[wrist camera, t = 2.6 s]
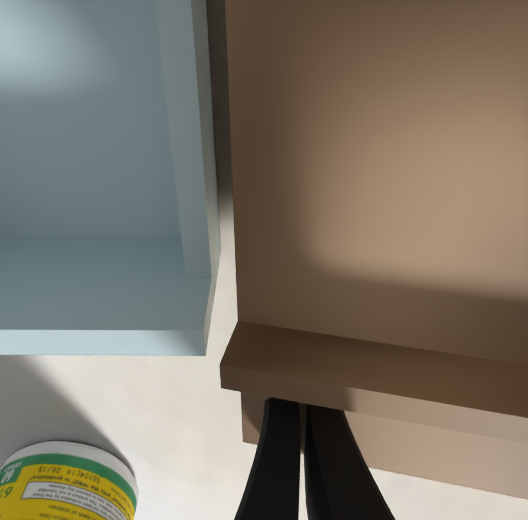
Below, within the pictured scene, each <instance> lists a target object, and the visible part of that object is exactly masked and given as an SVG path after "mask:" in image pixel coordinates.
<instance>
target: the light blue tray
mask: <svg viewBox="0 0 528 520" xmlns="http://www.w3.org/2000/svg"><path fill="white" fill-rule="evenodd" d="M220 254H221V243H220V226H219V210H218V193H217V176H216V160H215V143H214V126H213V109H212V93H211V76H210V59H209V42H208V26H207V9H206V0H0V355H127V356H206V349H207V342H208V335H209V329H210V322H211V315H212V308H213V301H214V295H215V288H216V281H217V274H218V267H219V261H220Z"/></svg>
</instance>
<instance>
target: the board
mask: <svg viewBox="0 0 528 520" xmlns="http://www.w3.org/2000/svg"><path fill="white" fill-rule="evenodd" d="M225 15H226V39H227V64H228V88H229V113H230V138H231V162H232V187H233V211H234V236H235V260H236V285H237V309H238V322H237V324H236V327H235V329H234V331H233V334H232V336H231V339H230V341H229V343H228V346H227V348H226V351H225V353H224V355H223V358H222V360H221V363H220V377H221V388H224V389H229V390H234V391H240V392H241V408H242V432H243V442H246V443H251V444H256V445H258V442H259V438H260V433H261V428H262V422H263V415H264V402H265V400H267V399H268V398H270V397H273V398H278V399H284V400H289V401H295V402H299V411H300V421H301V453H300V454H304V446H305V432H306V418H307V405H308V404H311V405H317V406H322V407H328V408H333V409H339V410H344V412H345V415H346V418H347V421H348V423H349V426H350V428H351V431H352V433H353V435H354V438H355V440H356V443H357V445H358V447H359V449H360V451H361V454H362V456H363V458H364V460H365V462H366V464H367V466H368V467H370V468H375V469H380V470H385V471H389V472H394V473H399V474H404V475H409V476H414V477H419V478H424V479H429V480H434V481H439V482H444V483H449V484H454V485H459V486H464V487H469V488H474V489H479V490H484V491H489V492H493V493H498V494H503V495H508V496H513V497H518V498H523V499H528V0H225Z"/></svg>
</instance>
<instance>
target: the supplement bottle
mask: <svg viewBox="0 0 528 520" xmlns="http://www.w3.org/2000/svg"><path fill="white" fill-rule="evenodd" d="M137 501H138V486H137V484H136V481H135V478H134V477H133V475H132V474H131V472H130V471H129V469H128V468H127V467H126V466H125V465H124V464H123V462H121V461H120V460H119V459H118V458H116V457H115V456H113V455H112V454H110V453H108V452H106V451H104V450H102V449H99V448H96V447H93V446H90V445H86V444H81V443H76V442H67V441H47V442H41V443H37V444H34V445H31V446H28V447H25V448H23V449H21V450H19V451H17V452H15V453H14V454H12V455H11V456H10V457H9V458H8V459H7V460H6V461H5V463H4V464H3V466H2V468H1V469H0V520H134V515H135V511H136V506H137Z"/></svg>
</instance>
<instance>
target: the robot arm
mask: <svg viewBox="0 0 528 520" xmlns="http://www.w3.org/2000/svg"><path fill="white" fill-rule="evenodd" d="M300 453H301V421H300V411H299V402H295V401H289V400H284V399H278V398H273V397H270V398H268V399H267V400H265V402H264V415H263V422H262V428H261V433H260V438H259V442H258V446H257V450H256V454H255V458H254V461H253V465H252V468H251V471H250V474H249V478H248V481H247V484H246V488H245V491H244V494H243V497H242V500H241V503H240V505H239V508H238V511H237V513H236V516H235V519H234V520H298V512H299V483H300ZM304 470H305V491H306V507H307V514H308V520H395V518H394V516H393V515H392V513H391V511H390V509H389V507H388V506H387V504H386V502H385V500H384V498H383V496H382V494H381V492H380V490H379V488H378V486H377V484H376V482H375V480H374V479H373V477H372V475H371V473H370V471H369V469H368V466H367V464H366V462H365V460H364V458H363V456H362V454H361V451H360V449H359V447H358V445H357V443H356V440H355V438H354V435H353V433H352V431H351V428H350V426H349V423H348V421H347V418H346V415H345V412H344V410H339V409H333V408H328V407H322V406H317V405H311V404H308V405H307V418H306V432H305V446H304Z"/></svg>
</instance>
